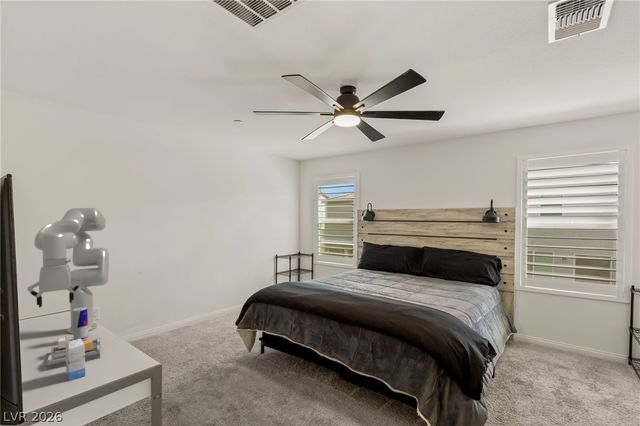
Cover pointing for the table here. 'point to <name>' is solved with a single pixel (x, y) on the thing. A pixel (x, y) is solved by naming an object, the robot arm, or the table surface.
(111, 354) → the table surface
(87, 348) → the block
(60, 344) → the block
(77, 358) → the ink box
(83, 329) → the beverage can
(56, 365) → the console
